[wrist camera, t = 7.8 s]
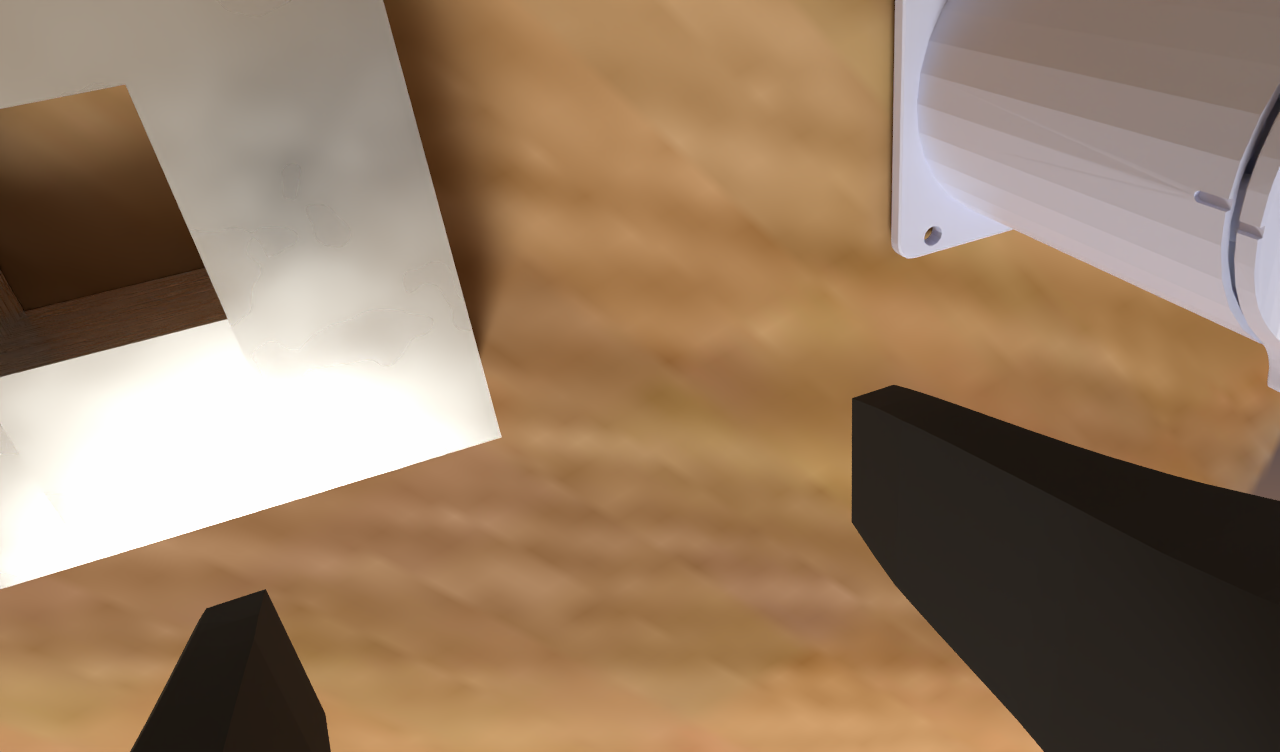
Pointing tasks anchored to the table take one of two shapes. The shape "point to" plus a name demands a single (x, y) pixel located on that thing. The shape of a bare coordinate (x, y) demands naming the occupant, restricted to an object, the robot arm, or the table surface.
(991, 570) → the robot arm
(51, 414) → the block
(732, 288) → the table surface
